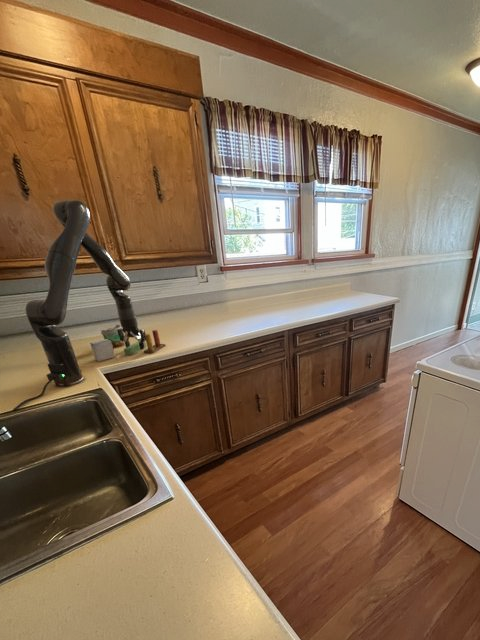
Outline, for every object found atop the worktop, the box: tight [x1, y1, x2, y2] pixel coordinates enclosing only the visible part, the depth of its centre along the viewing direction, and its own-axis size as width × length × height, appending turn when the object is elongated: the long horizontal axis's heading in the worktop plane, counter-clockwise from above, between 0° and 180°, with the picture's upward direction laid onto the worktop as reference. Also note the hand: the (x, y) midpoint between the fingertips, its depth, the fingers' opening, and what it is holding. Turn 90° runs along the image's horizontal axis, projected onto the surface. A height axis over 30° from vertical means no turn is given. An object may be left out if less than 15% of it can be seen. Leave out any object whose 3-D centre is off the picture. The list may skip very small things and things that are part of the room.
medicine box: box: [90, 338, 116, 362], centre depth 158 cm, size 8×4×9 cm, turn 141°
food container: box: [100, 324, 125, 349], centre depth 175 cm, size 12×6×10 cm, turn 168°
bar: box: [123, 341, 147, 356], centre depth 170 cm, size 3×14×3 cm, turn 171°
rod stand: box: [143, 329, 166, 354], centre depth 170 cm, size 5×12×9 cm, turn 171°
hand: (135, 348), depth 170 cm, fingers open, 7 cm apart
